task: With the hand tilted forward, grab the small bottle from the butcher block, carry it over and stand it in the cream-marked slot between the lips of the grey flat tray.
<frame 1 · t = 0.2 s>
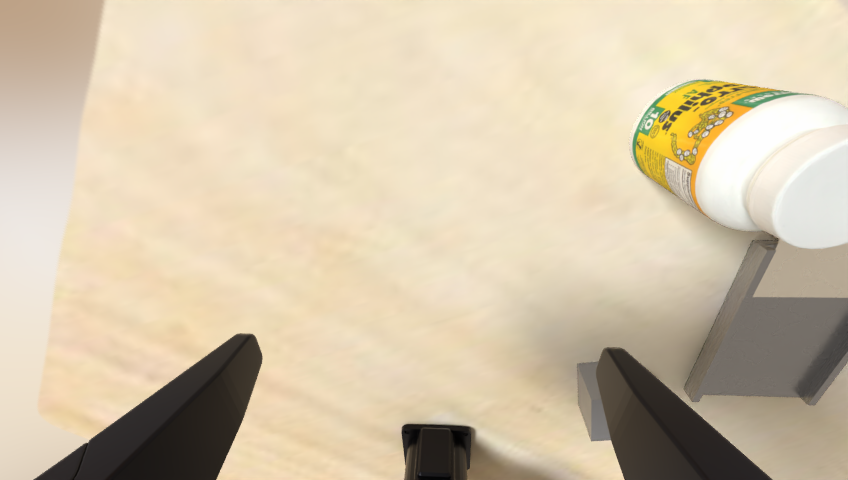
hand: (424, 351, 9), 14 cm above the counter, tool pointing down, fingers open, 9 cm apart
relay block: (602, 380, 30), on the counter
grey flat tray: (780, 325, 26), on the counter
supplement bottle: (676, 129, 20), on the counter
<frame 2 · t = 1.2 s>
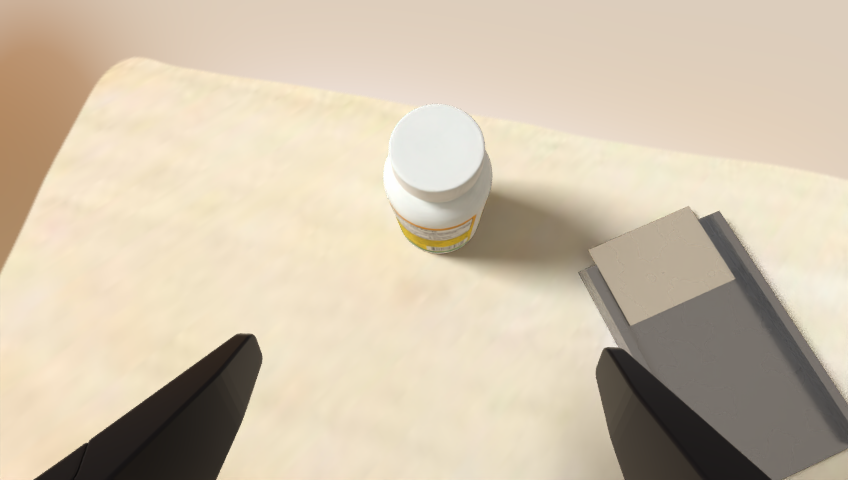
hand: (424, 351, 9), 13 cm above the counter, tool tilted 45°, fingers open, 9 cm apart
grey flat tray: (705, 350, 21), on the counter
supplement bottle: (439, 216, 24), on the counter
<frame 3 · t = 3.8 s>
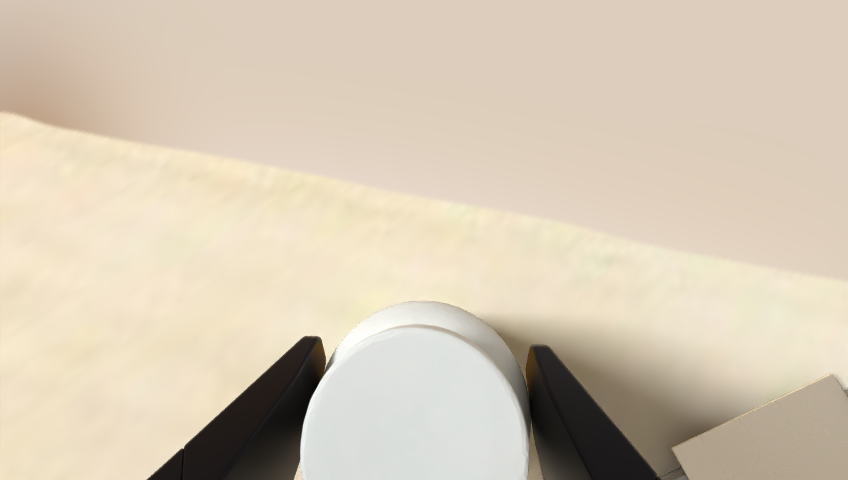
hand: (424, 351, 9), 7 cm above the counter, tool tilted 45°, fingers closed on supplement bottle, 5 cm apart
supplement bottle: (431, 372, 16), on the counter, touching gripper
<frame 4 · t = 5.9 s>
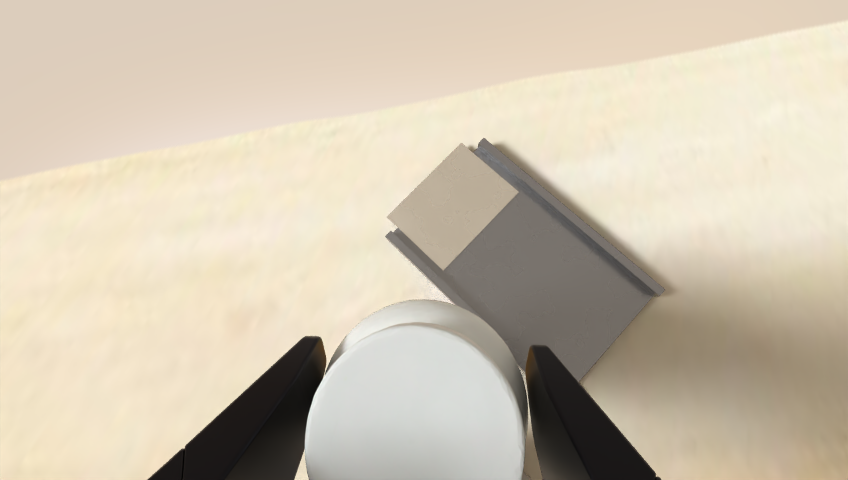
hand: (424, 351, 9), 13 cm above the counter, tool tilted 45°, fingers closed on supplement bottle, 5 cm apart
grey flat tray: (516, 264, 23), on the counter
supplement bottle: (432, 370, 16), point 6 cm above the counter, touching gripper
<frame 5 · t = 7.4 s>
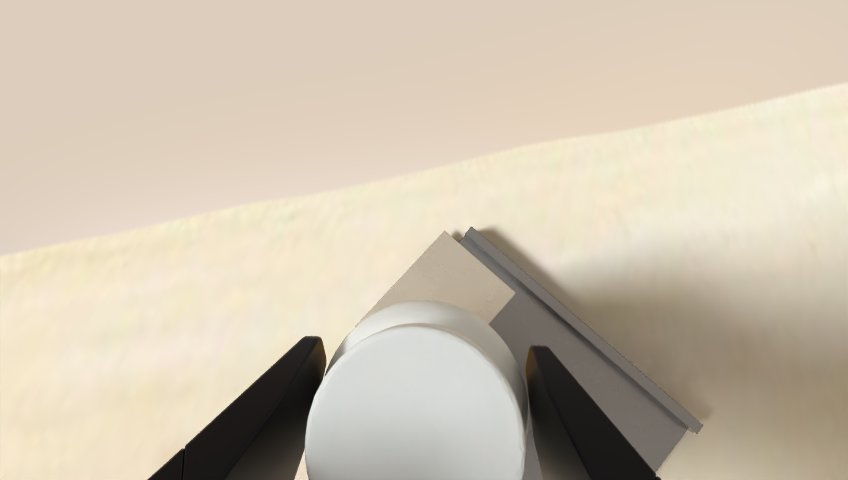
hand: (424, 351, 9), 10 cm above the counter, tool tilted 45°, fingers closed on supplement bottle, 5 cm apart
grey flat tray: (514, 384, 18), on the counter
supplement bottle: (432, 370, 16), point 3 cm above the counter, touching gripper
when the fingers open (8 cm above the counter, at t = 8.4 s): supplement bottle stays where it is, resting on grey flat tray.
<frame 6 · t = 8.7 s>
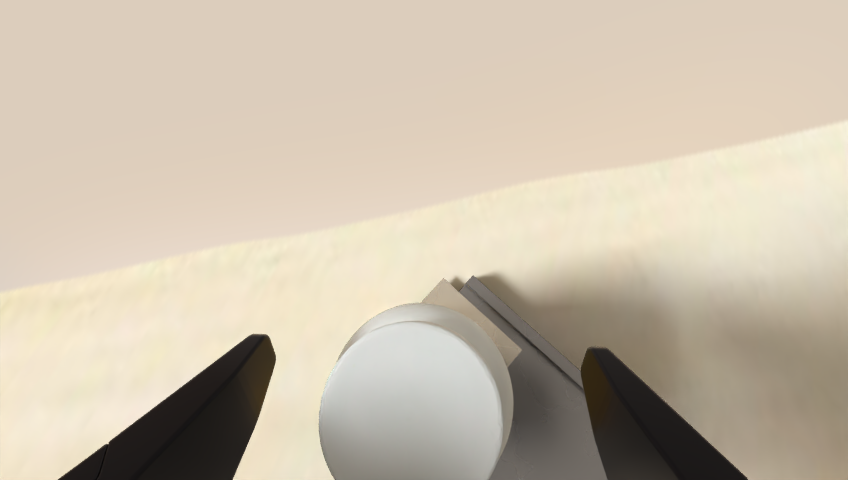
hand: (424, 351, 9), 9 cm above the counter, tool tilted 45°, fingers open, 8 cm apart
grey flat tray: (521, 453, 16), on the counter
supplement bottle: (431, 372, 17), resting on grey flat tray
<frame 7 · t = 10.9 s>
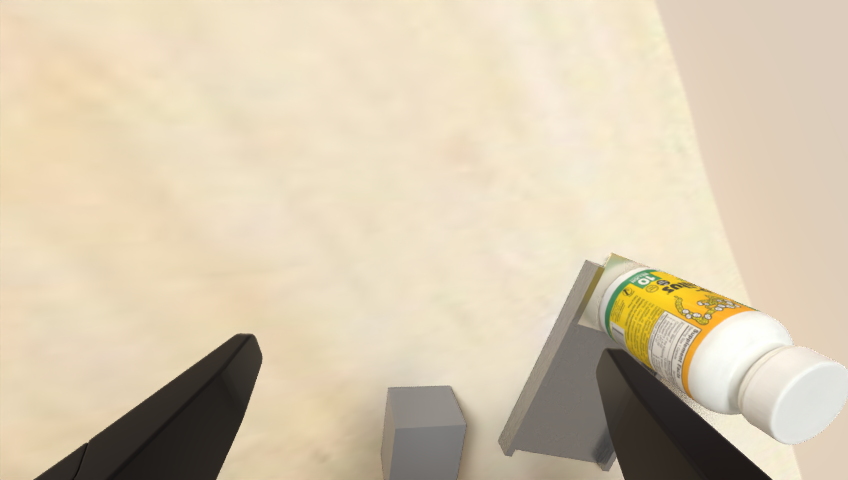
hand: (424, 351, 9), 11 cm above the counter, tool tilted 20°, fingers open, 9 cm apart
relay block: (414, 418, 23), on the counter
grey flat tray: (592, 368, 25), on the counter
supplement bottle: (630, 302, 24), resting on grey flat tray
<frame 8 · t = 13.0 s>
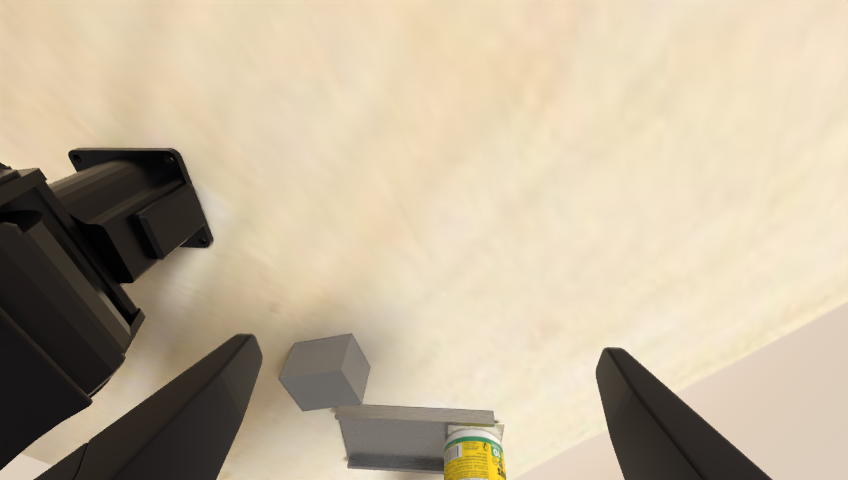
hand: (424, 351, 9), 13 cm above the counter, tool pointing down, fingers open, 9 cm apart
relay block: (333, 353, 29), on the counter
grey flat tray: (416, 435, 35), on the counter
supplement bottle: (472, 441, 34), resting on grey flat tray
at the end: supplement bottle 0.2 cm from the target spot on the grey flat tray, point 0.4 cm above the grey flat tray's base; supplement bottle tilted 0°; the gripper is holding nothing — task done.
